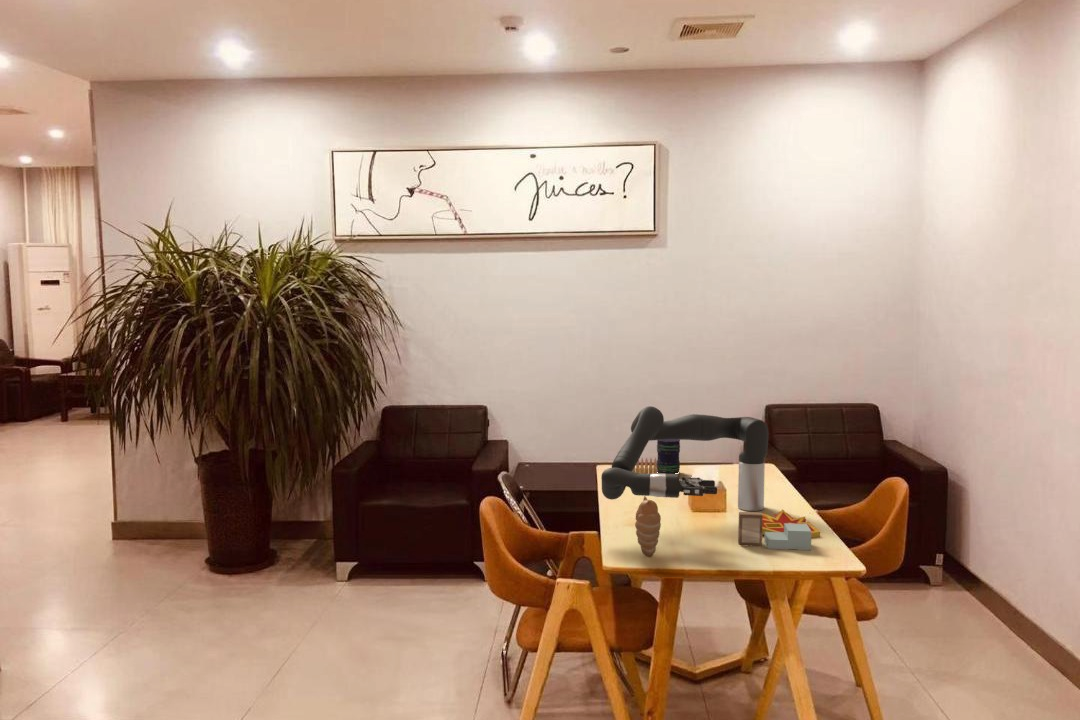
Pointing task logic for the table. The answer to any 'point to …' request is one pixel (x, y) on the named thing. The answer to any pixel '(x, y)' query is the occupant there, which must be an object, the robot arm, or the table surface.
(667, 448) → the storage jar
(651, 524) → the brown ribbed tall piece
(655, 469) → the ammunition clip
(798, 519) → the wall decoration
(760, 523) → the frame
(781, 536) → the blue-grey stepped block
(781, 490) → the table surface
